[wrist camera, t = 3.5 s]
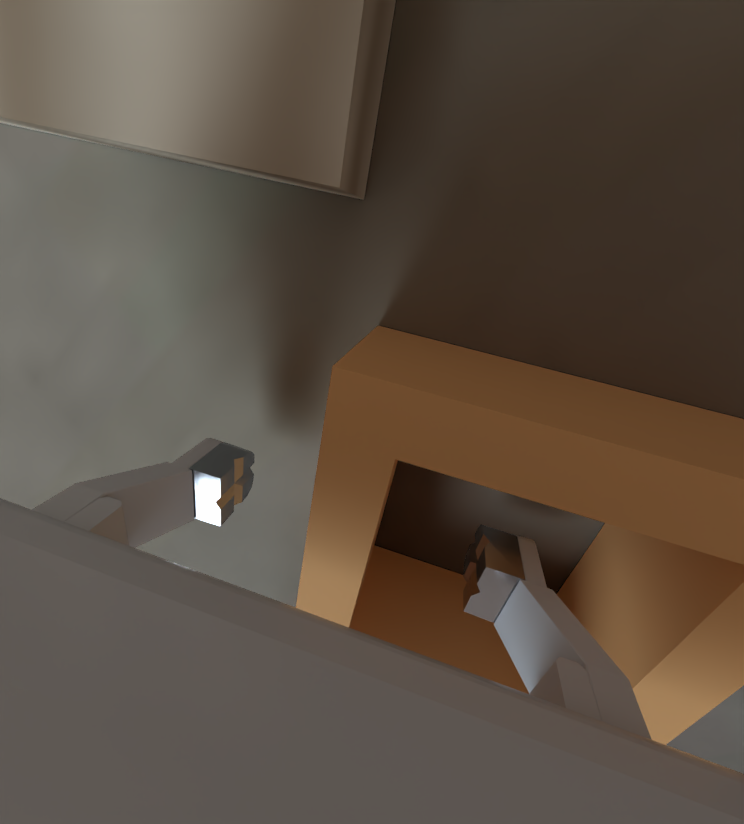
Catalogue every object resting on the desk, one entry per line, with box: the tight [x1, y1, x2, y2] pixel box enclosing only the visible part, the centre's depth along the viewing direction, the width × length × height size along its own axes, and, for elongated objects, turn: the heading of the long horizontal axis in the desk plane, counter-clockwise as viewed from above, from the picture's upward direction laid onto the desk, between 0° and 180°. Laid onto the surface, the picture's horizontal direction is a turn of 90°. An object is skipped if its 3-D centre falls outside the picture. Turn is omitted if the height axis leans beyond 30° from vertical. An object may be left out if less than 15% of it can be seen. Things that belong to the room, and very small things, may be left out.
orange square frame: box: [296, 326, 744, 745], centre depth 10 cm, size 10×10×4 cm
